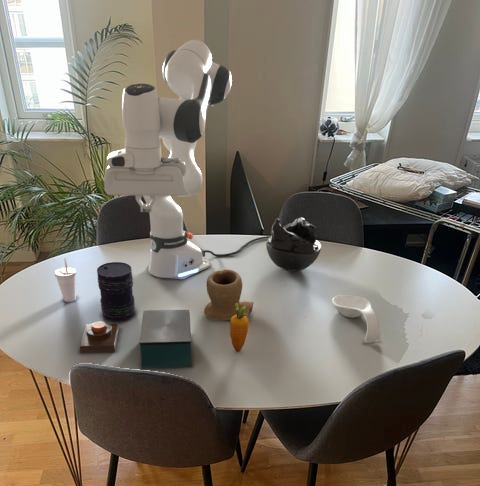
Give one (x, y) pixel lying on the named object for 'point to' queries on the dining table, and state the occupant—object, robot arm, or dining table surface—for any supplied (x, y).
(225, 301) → the stone cup
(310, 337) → the dining table surface
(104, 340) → the button block
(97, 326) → the button
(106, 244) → the dining table surface
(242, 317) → the carrot
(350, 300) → the spoon rest
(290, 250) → the coal bowl
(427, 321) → the dining table surface
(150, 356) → the tea tin
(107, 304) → the oil barrel
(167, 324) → the lid
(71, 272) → the smoothie
